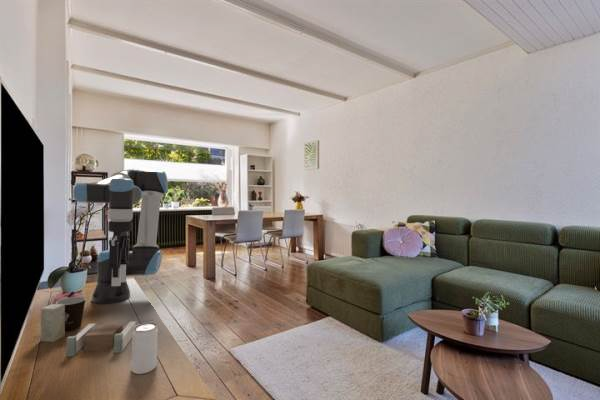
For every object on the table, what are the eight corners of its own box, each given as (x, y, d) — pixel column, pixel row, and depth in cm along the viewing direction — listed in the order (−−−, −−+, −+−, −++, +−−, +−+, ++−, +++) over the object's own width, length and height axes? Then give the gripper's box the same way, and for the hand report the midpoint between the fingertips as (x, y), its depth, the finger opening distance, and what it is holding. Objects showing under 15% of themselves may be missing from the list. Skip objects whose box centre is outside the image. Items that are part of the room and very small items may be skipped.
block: (96, 339, 100) (97, 324, 100) (122, 337, 101) (122, 323, 101) (83, 351, 92) (84, 335, 92) (111, 349, 93) (112, 334, 93)
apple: (85, 310, 123) (86, 286, 123) (79, 318, 115) (80, 293, 115) (57, 313, 119) (58, 289, 119) (49, 321, 111) (50, 295, 111)
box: (65, 336, 100) (66, 304, 100) (53, 342, 96) (54, 309, 96) (51, 335, 101) (52, 303, 101) (38, 341, 97) (40, 307, 97)
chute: (88, 335, 102) (89, 319, 102) (135, 332, 105) (136, 316, 105) (66, 356, 88) (66, 338, 88) (121, 352, 91) (121, 334, 91)
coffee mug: (90, 325, 110) (91, 298, 109) (65, 335, 101) (66, 306, 101) (69, 320, 113) (69, 294, 113) (43, 329, 105) (44, 301, 105)
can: (129, 377, 79) (131, 333, 79) (132, 364, 85) (134, 323, 85) (156, 372, 82) (157, 329, 82) (157, 360, 88) (158, 320, 88)
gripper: (118, 218, 115) (116, 277, 115) (98, 222, 98) (96, 291, 98) (139, 218, 116) (137, 277, 116) (123, 222, 100) (121, 290, 100)
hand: (118, 283), depth 107 cm, fingers open, 4 cm apart
